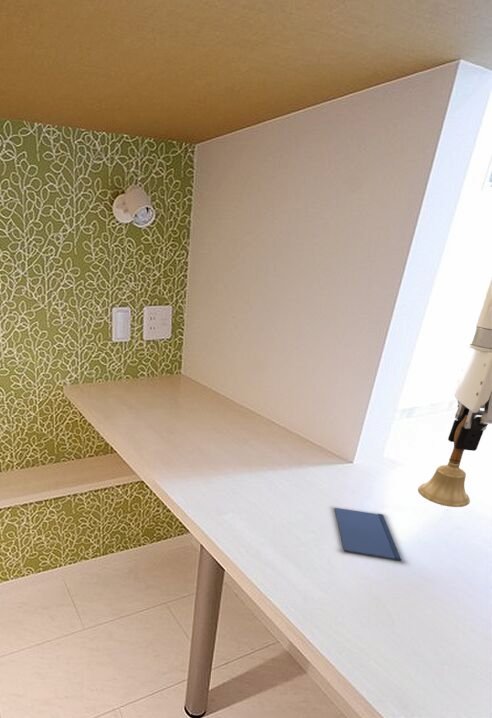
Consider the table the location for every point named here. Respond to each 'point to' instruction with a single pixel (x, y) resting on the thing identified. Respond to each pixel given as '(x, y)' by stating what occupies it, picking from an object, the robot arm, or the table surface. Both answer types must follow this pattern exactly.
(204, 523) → the table surface
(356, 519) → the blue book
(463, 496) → the hand bell
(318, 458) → the table surface
